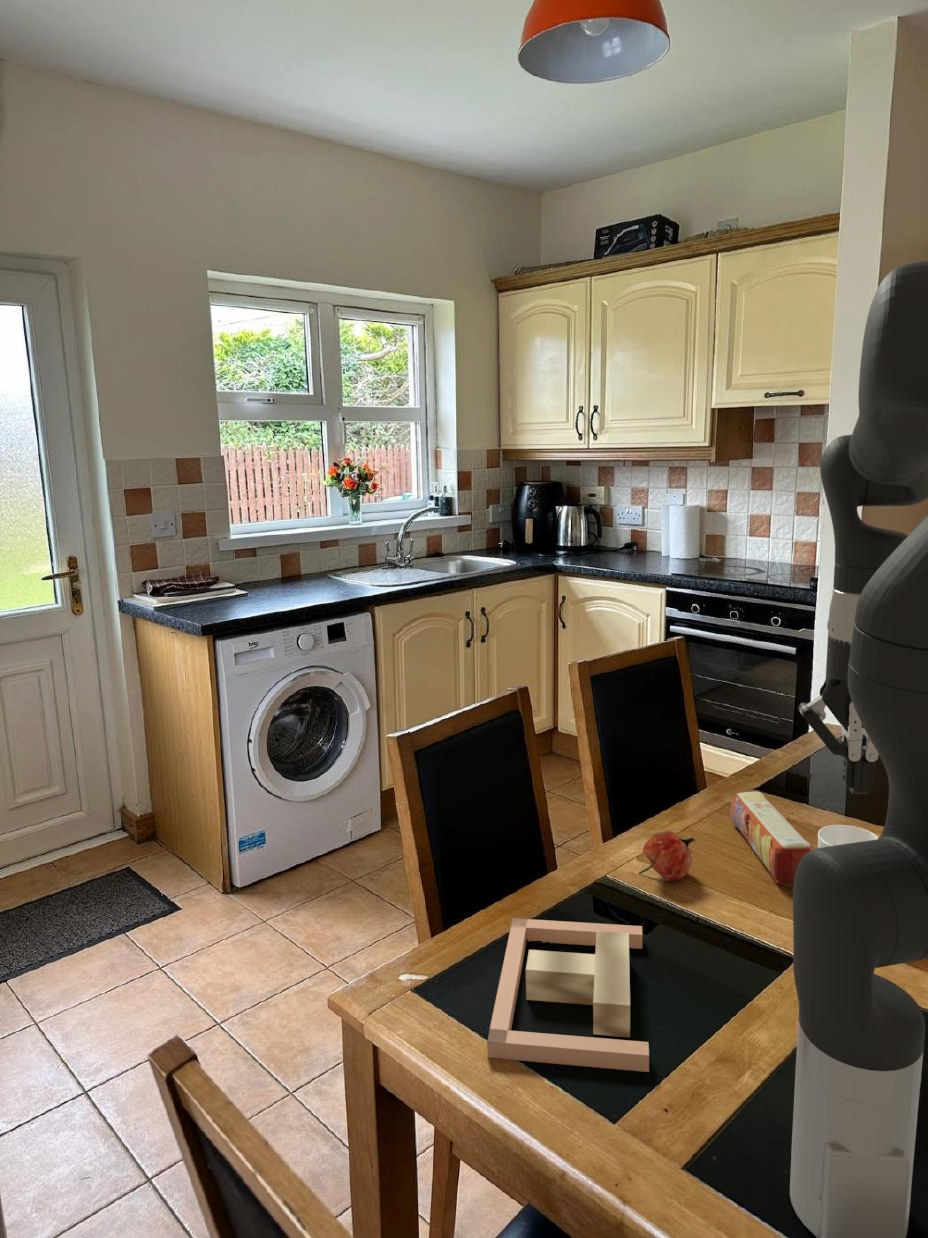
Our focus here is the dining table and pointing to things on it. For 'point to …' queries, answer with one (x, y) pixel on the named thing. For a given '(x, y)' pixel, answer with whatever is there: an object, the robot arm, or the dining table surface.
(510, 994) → the frame
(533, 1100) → the dining table surface
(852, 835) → the white cup
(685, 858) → the pomegranate
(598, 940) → the T block
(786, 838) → the snack package
